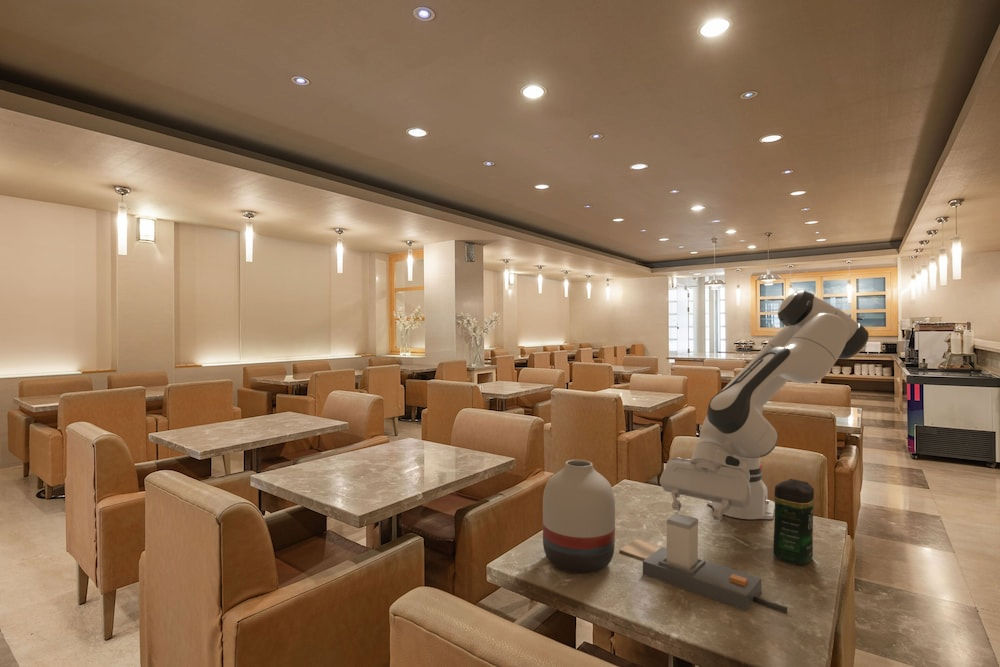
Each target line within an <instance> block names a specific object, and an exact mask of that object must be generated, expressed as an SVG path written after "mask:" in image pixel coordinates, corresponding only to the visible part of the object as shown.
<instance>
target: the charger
mask: <svg viewBox="0 0 1000 667" xmlns="http://www.w3.org/2000/svg"><path fill="white" fill-rule="evenodd" d="M698 539H699V518H697V517H693V516H688V515H685V514H680V513H677V512H676V513H674V514H673V515H671V516H669V517H668V518H667V519H666V548H667V563H670V564H673V565H676V566H679V567H682V568H685V569H688V570H690V569H691V568H693V567H694V566H695V565H696V564H697V563H698V558H699V557H698V556H699V555H698V554H699V553H698V551H699V550H698V549H699V548H698V547H699V543H698V542H699V540H698Z"/></svg>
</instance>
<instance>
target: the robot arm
mask: <svg viewBox="0 0 1000 667" xmlns="http://www.w3.org/2000/svg"><path fill="white" fill-rule="evenodd" d="M777 318H778V320H779V321H780V322H781V323H782V324H783V325H784V327H783V328H782V329H780V330H779V331H778V332H776V334H774V336H773V337H772V338H771V339H770V340H769V341H768V342H767V343H766V344H765V345H764V347H762V349H761V350H760V351H759V352H758V353H757V354H756V355H755V356H754V358H752V359H751V360H750V362H749V363H748V364H746V365H745V366H744V368H743V369H741V370H740V371H739V372H738V373H737V374H736V375H735V376H734V377H733V378H732V379H731V380H730V381H729V382H728V383H727V384H726V386H724V387H723V388H722V389H721V390H720V391H719V392H717V393H716V394H715V395H714V396H713V397H712V398H710V401H709V403H708V406H707V413H706V414H707V415H705V418H704V419H703V422H702V425H701V428H700V432H699V440H698V442H697V443H696V444H695V447H694V450H693V452H692V456H691V459H690V458H683V457H682V458H681V457H678V456H675V457H674V456H673V458H670V459H668V460H667V462H666V465H665V468H664V470H663V472H662V473H661V476H660V478H659V484H660V486H661V488H662V489H663V491H664V492H668V493H671V496H672V500H673V501H672V504H671V508H672V510H673V511H678V512H679V511H681V508H682V502H681V501H680V500H678V498H680V496H686V497H690V498H695V499H700V500H704V501H707V502H706V504H707V503H708V504H709V505H711V506H713V507H712V509H713V514H712V518H713V520H716V521H722V519H723V515H725V516H727V517H730V518H735V519H741V520H742V519H743V520H773V519H774V517H775V511H774V510H775V501H773V500H770V499H768V487H767V485H766V484H765V482H764V481H763V472H762V471H763V464H761V463H760V461H761V458H763V457H765V456H766V457H767V455H769V454H771V453H772V452H773V450H774V449H775V448H776V446H777V444H778V440H779V434H778V431H777V430H776V429H775V427H774V426H773V425H772V424H771V423H770V421H769V420H767V418H766V417H765V416H764V415H763V414H764V413H763V410H764V406H765V405H766V404H767V403H768V402H769V401H770V400H771V399H772V398H773V397H774V396H775V395H776V394H777V393H778V392H779V391H780V390H781V389H782V388H783V387H784V386H785V385H786V384H787V383H788V382H789V381H790V382H793V383H797V384H802V385H803V384H804V385H805V384H807V385H808V384H814V383H816V382H820V381H821V380H822V379H824V378H825V377H826V376H827V375H828V373H830V371H831V369H832V368H833V367H834V365H835V364H836V363H837V361H838V360H848V359H851V358H852V357H854V356H856V355H857V354H859V353H860V352H862V350H863V349H864V347H865V346H866V345H867V342H868V341H869V337H870V336H869V331H868V330H867V329H866V328H865V327H864V326H863V325H862V324H861V323H860V322H857V321H855V320H854V319H853V318H852V317H851V316H850V315H848V314H846V313H845V312H844V311H843V310H841V309H840V308H838V307H835V306H834V305H832V304H830V303H828V302H827V301H825V300H823V299H821V298H820V297H817V296H815V294H813V293H811V292H809V291H807V290H797V291H795V292H793V293H792V294H790V295H788V296H787V297H785V299H784V300H783V301H782V302H781V304H780V306H779V309H778V311H777ZM708 504H707V505H708ZM709 505H708V506H709ZM711 506H710V507H711ZM773 516H774V517H773Z"/></svg>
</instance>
